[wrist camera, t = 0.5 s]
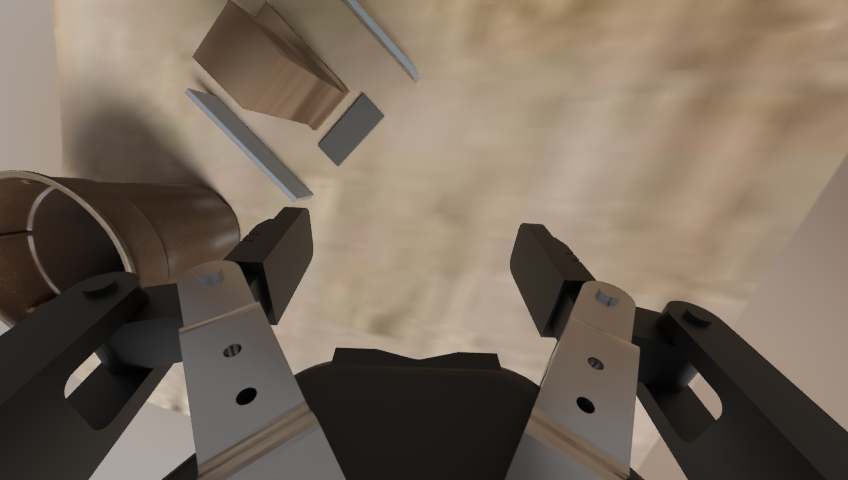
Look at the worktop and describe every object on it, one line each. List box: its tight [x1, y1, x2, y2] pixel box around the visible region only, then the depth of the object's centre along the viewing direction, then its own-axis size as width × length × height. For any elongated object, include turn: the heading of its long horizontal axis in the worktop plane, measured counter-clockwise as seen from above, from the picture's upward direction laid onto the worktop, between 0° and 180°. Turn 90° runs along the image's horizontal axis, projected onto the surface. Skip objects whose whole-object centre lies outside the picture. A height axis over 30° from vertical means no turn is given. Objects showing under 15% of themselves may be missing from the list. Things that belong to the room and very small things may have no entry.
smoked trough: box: [185, 0, 420, 202], centre depth 32 cm, size 16×19×4 cm
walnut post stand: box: [193, 0, 350, 130], centre depth 28 cm, size 12×6×13 cm, turn 44°
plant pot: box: [0, 170, 240, 329], centre depth 33 cm, size 16×16×16 cm
